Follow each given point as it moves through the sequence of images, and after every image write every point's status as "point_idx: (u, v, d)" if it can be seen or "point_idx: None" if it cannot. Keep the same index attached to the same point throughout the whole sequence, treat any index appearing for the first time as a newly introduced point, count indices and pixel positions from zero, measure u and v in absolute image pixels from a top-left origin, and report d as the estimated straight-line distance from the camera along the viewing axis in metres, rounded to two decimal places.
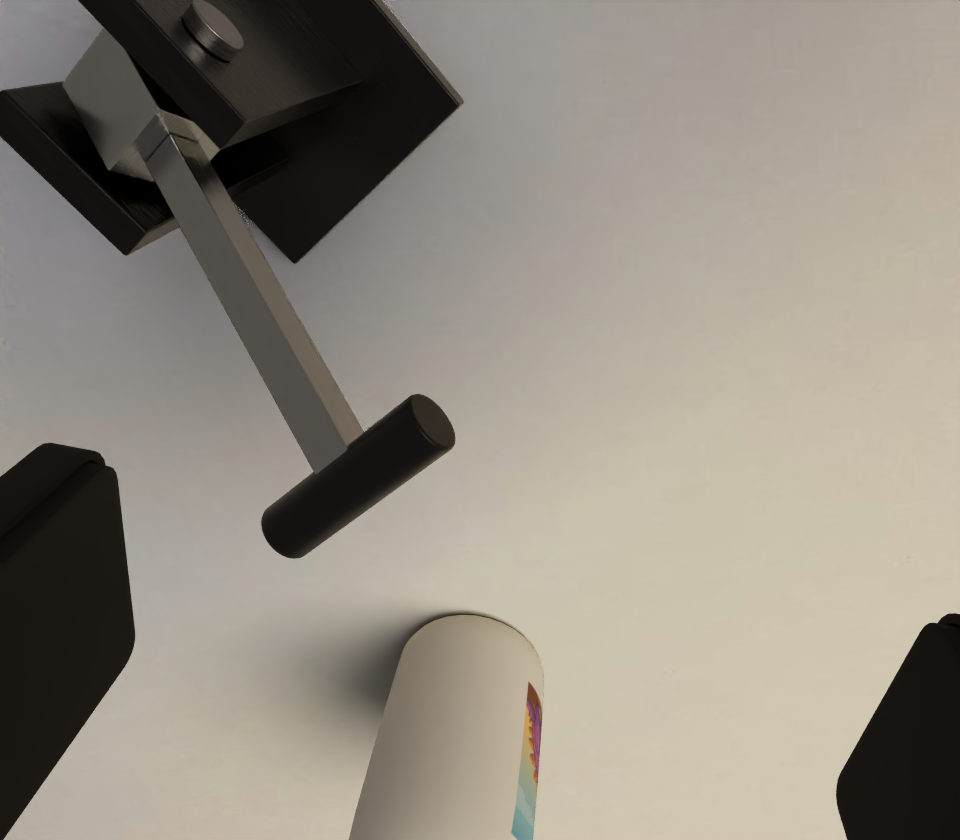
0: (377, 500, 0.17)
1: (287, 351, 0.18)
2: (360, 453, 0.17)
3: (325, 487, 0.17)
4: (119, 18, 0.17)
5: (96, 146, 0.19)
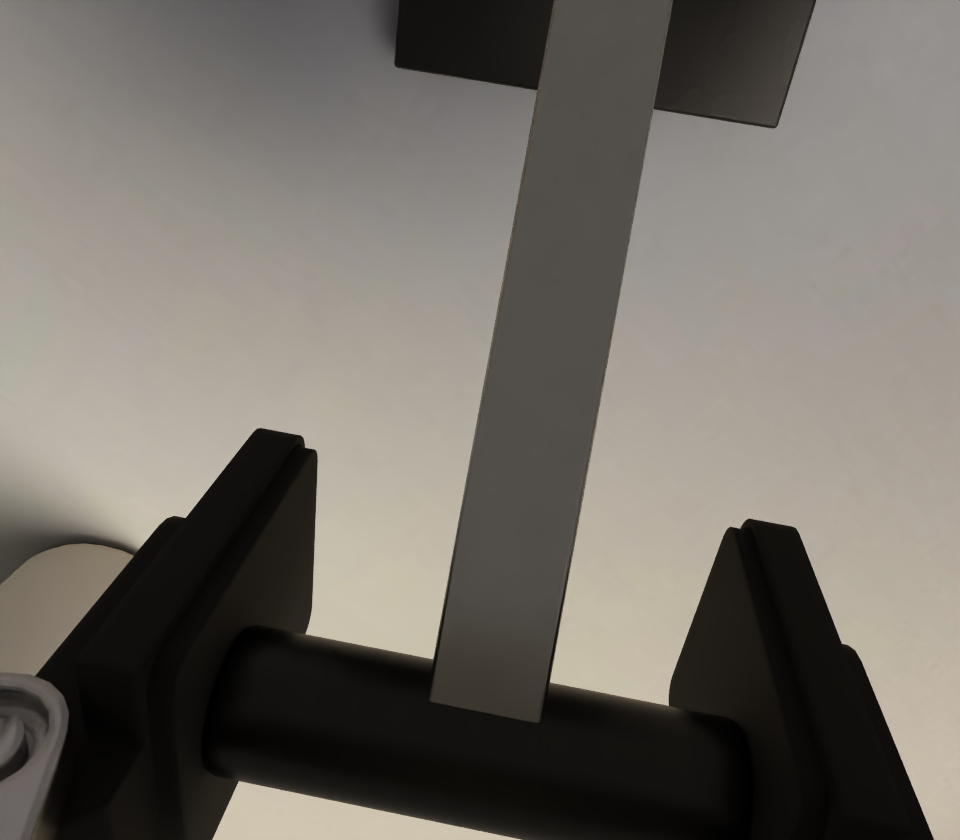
0: None
1: (582, 430, 0.07)
2: (576, 770, 0.07)
3: (442, 762, 0.07)
4: None
5: None
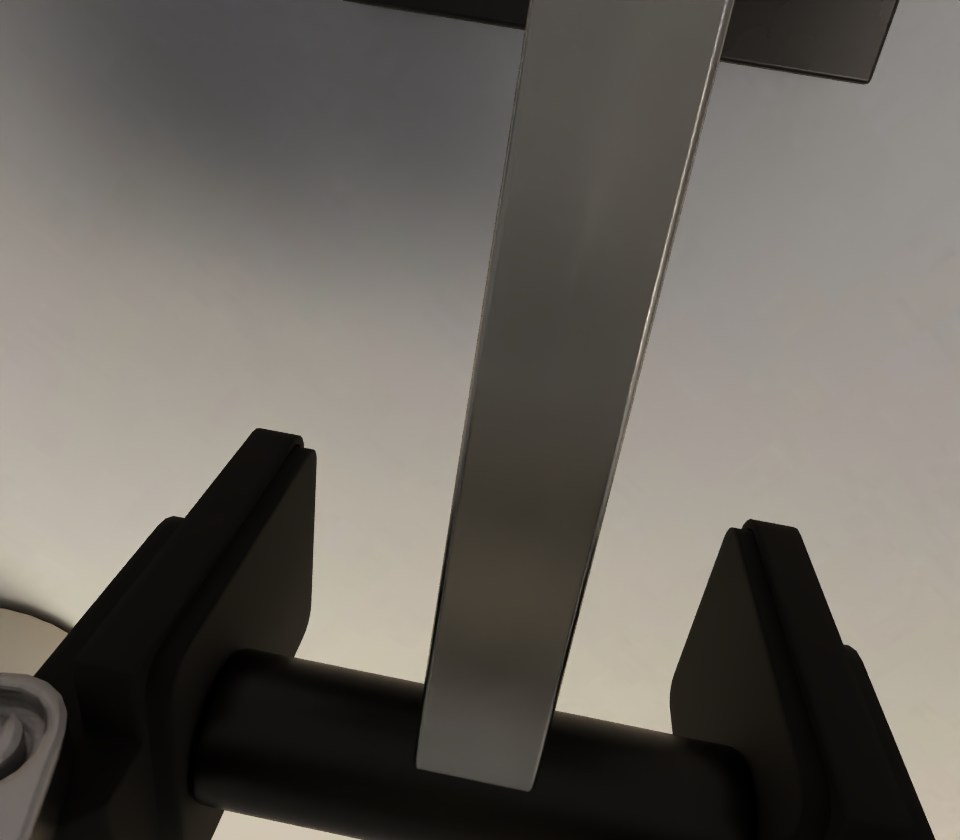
0: None
1: (585, 528, 0.06)
2: None
3: (429, 828, 0.07)
4: None
5: None
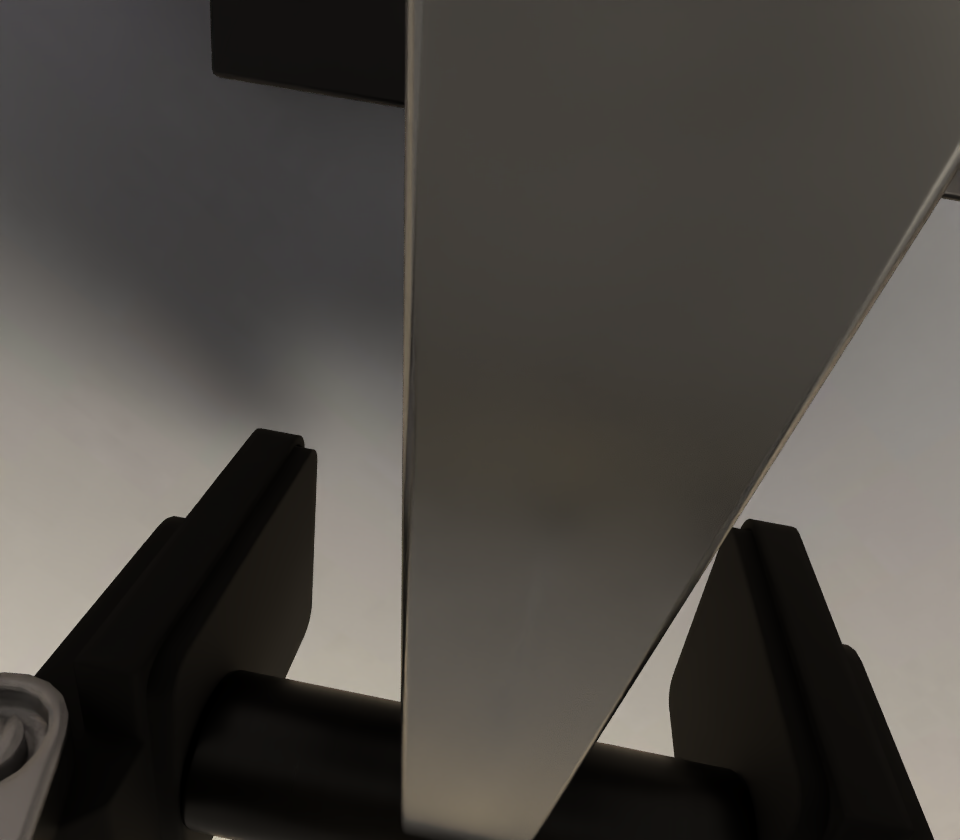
0: None
1: (565, 763, 0.04)
2: None
3: None
4: None
5: None
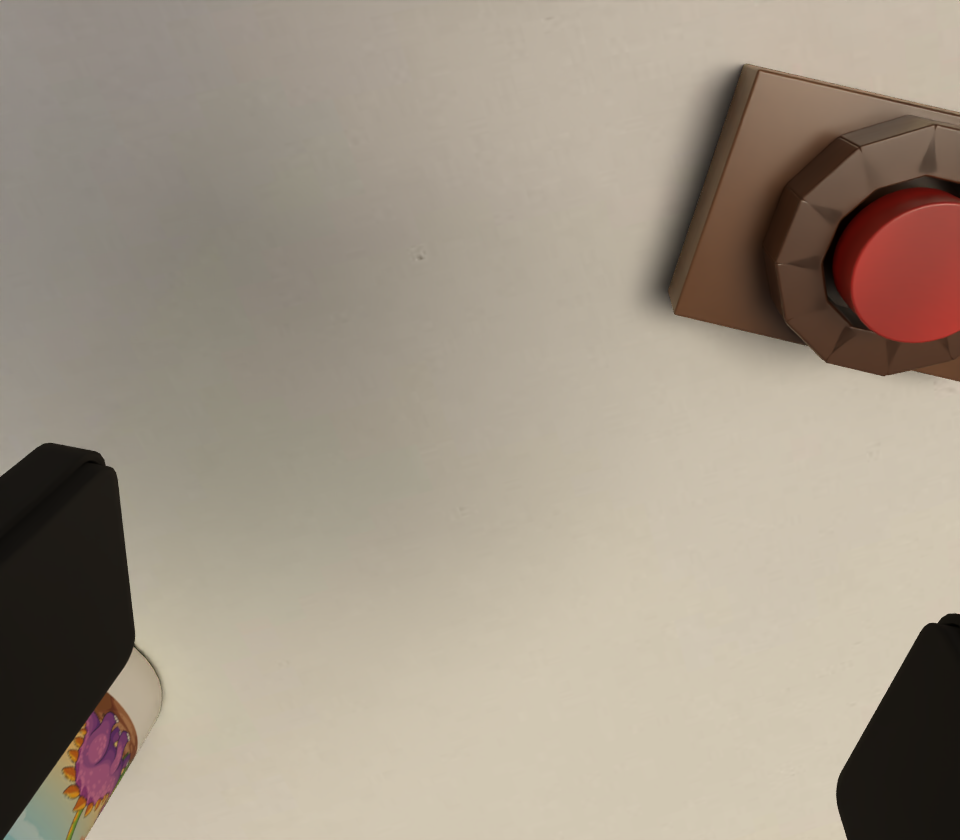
0: None
1: None
2: None
3: None
4: None
5: None
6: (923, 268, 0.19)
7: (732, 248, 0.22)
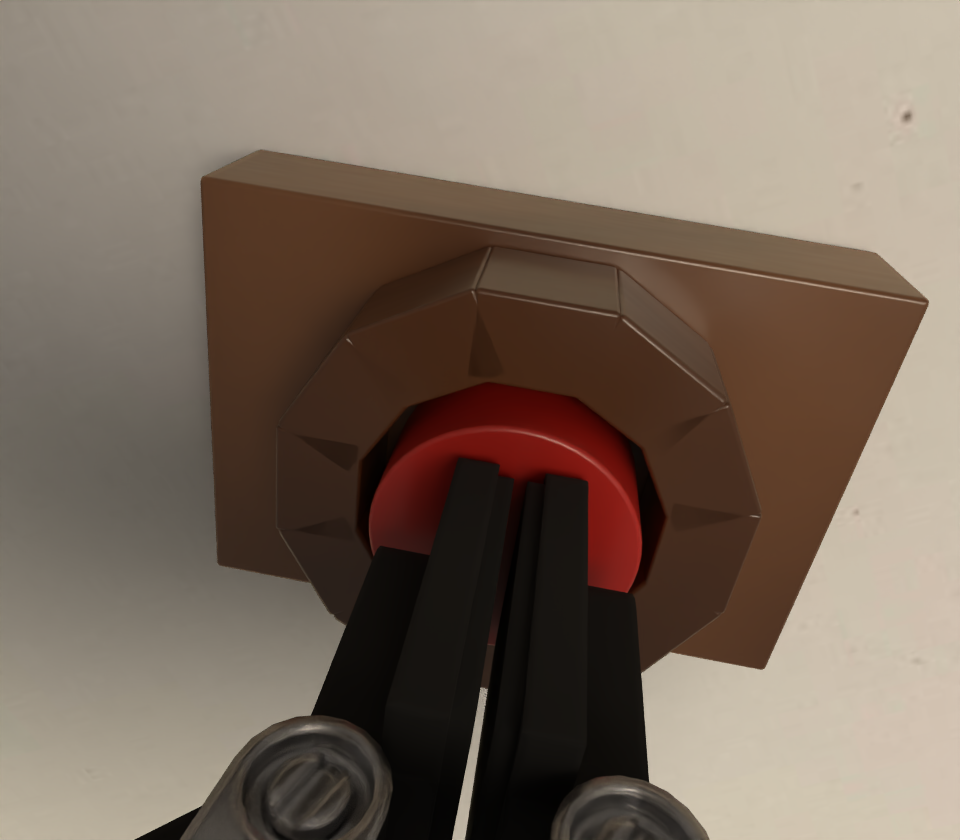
0: None
1: None
2: None
3: None
4: None
5: None
6: None
7: (268, 469, 0.13)
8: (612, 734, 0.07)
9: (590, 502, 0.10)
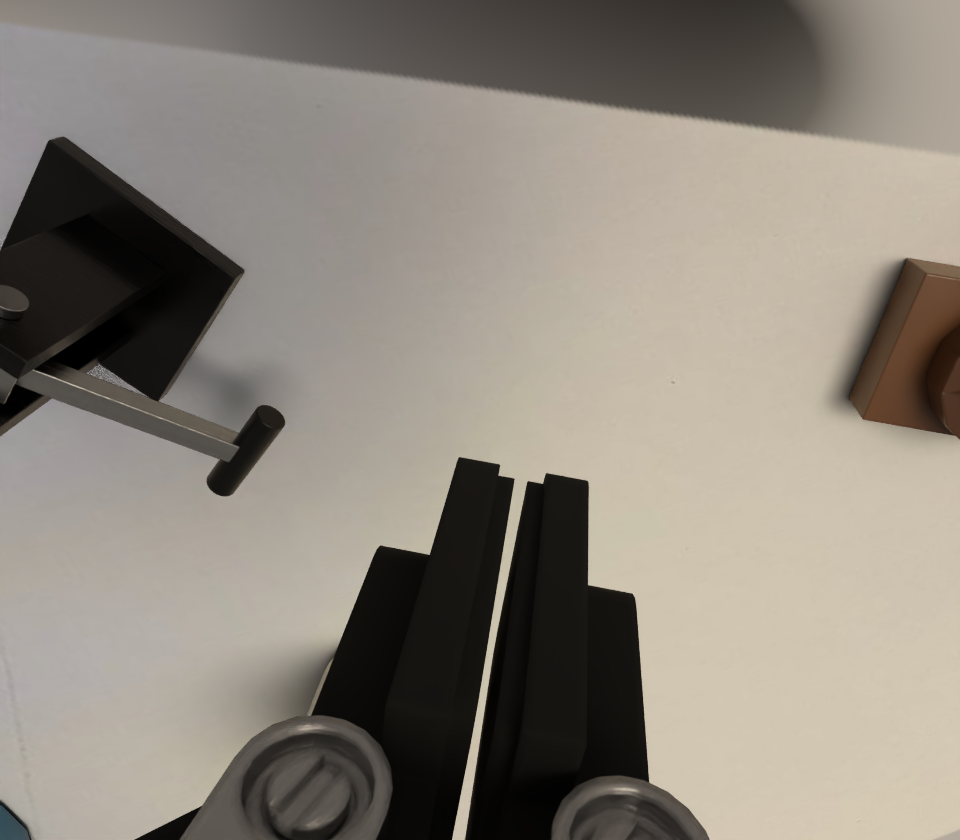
0: None
1: (179, 427, 0.34)
2: (249, 447, 0.35)
3: (239, 465, 0.35)
4: None
5: None
6: None
7: (904, 377, 0.34)
8: (612, 734, 0.07)
9: None
